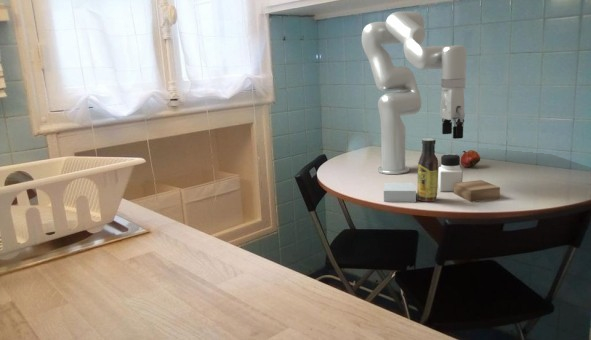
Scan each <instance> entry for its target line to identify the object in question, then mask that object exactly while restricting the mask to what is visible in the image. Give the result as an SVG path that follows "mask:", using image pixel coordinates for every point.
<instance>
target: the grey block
mask: <svg viewBox="0 0 591 340" xmlns="http://www.w3.org/2000/svg"><path fill="white" fill-rule="evenodd" d="M383 184H384V186H383V202H384V203H385V202H387V203H389V202H391V203H397V202H398V203H415V202H417V200H416V199H417V196H416V195H417V191H416V190H417V189H416V183H415V182H384V183H383Z"/></svg>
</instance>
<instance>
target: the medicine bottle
mask: <svg viewBox="0 0 591 340" xmlns="http://www.w3.org/2000/svg"><path fill="white" fill-rule="evenodd" d="M440 158H441V159H440V166H438V189H439V191H440V193H441V192H442V193H443V192H446V193H447V192H448V193H449V192H453V193H454V183H460V182H463V170H462V168H461V167H460V165H461V156H460V155H458V154H455V153H446V154H443V155H441V156H440Z"/></svg>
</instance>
